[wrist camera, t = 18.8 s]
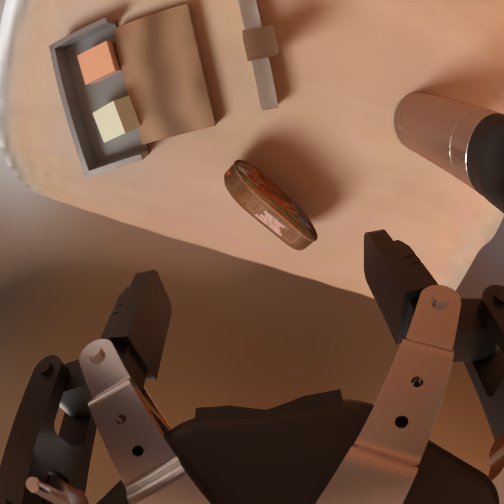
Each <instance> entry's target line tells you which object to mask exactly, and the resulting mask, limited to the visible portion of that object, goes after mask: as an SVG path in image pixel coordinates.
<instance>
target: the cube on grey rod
mask: <svg viewBox="0 0 504 504" xmlns="http://www.w3.org/2000/svg"><path fill="white" fill-rule="evenodd" d="M238 4H239V8H240V12H241V16H242V21H243V25H244V29H245V30H243V41H244V46H245V50H246V55H247V59H248V61H252V66H253V71H254V75H255V80H256V85H257V90H258V95H259V100H260V105H261V109H262V110H267V109H273V108H279V107H278V101H277V96H276V91H275V86H274V81H273V76H272V71H271V66H270V61H269V58H270V57H274V56H275V55H277V54H278V53H279V49H278V44H277V40H276V35H275V30H274V26H266V27H262V24H261V20H260V15H259V11H258V7H257V2H256V0H238Z"/></svg>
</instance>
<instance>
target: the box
mask: <svg viewBox="0 0 504 504" xmlns="http://www.w3.org/2000/svg"><path fill="white" fill-rule="evenodd" d="M114 28H117V24H116V20H113V19H110V18H107V17H105V18H103V19H100V20H98V21H96V22H94V23H92V24H90V25H88V26H86V27H83V28H81V29H79V30H77V31H76V32H74V33H72V34H70V35H68V36H66V37H64V38H62V39H61V40H59V41H57V42H55V43H53V44H52V45H50V46H49V48H50V53H51V58H52V62H53V67H54V71H55V76H56V80H57V84H58V88H59V92H60V96H61V100H62V103H63V107H64V111H65V114H66V118H67V121H68V124H69V128H70V131H71V134H72V137H73V141H74V144H75V147H76V150H77V153H78V156H79V159H80V162H81V165H82V168H83V170H84V173H85V176H86V178H87V177H90V176H93V175H96V174H99V173H102V172H105V171H108V170H111V169H114V168H117V167H120V166H124V165H127V164H130V163H133V162H137V161H140V160H143V159H144V158H145V157H146V156H147V155H148V154H149V153H150V152H149V149H148V145H147V144H144V145H142V143H141V139H140V136H139V133H138V129H137V128H135V129H133V130H131V131H129V132H127V133H125V134H122V135H120V136H118V137H116V138H114V139H111V140H109V141H107V142H105V143H104V142H103V139H102V137H101V134H100V132H99V129H98V126H97V124H96V121H95V118H94V116H93V112H95V111H97V110H98V109H100V108H102V107H103V106H105V105H107V104H109V103H110V102H112V101H114V100H117V99H120V98H123V97H126V96H128V93H127V89H126V85H125V81H124V77H123V73H122V71H121V72H119V73H117V74H115V75H112V76H110V77H108V78H106V79H104V80H102V81H100V82H97V83H95V84H88V85H85V81H84V78H83V74H82V71H81V67H80V64H79V60H78V57H77V56H78V55H80V54H81V53H83V52H85V51H87V50H89V49H91V48H93V47H95V46H97V45H99V44H101V43H103V42H105V41H111V42H115V39H114V34H113V30H112V29H114Z"/></svg>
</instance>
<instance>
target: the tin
mask: <svg viewBox="0 0 504 504" xmlns="http://www.w3.org/2000/svg"><path fill="white" fill-rule="evenodd" d="M224 182H225V186H226V188H227V190H228V191H229V193H230V194H231V196H232V197H233V198H234V200H235V201H236V202H237V203H238V204H239V205H240V206H241V207H242V208H243V209H244V210H246V211H247V212H248V213H249V214H251V215H252V216H253V217H254V218H255V219H256V220H258V221H259V222H260V223H261V224H263V225H264V226H265V227H266V228H267V229H269V230H270V231H271V232H272V233H274V234H275V235H276V236H277V237H278V238H280V239H281V240H282V241H283V242H285V243H286V244H287V245H289V246H290V247H292V248H293V249H296V250H303V249H305V248H306V247H307V246H309V245H310V244H311V243H312V242H314V241H316V240H317V233H316V230H315V228H314V227H313V225H312V223H311V222H310V220H309V219H308V217H307V216H306V214H305V213H304V212H303V211H302V210H301V209H300V207H299V206H297V204H296V203H294V202H293V201H292V200H291V199H290V198H289V197H288V196H287V195H286V194H285V193H283V192H282V191H281V190H280V189H279V188H278V187H277V186H276V185H274V184H273V183H272V182H271V181H270V180H269V179H268V178H267V177H265V176H264V175H263V174H262V173H261V172H260V171H259V170H257V169H256V168H255V167H253V166H252V165H250V164H249V163H247V162H245V161H242V160H236V161H235V162H234V164H233V165H232V166H231V167H230V168H229V169H228V171H227V172H226V173H225V175H224Z"/></svg>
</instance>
